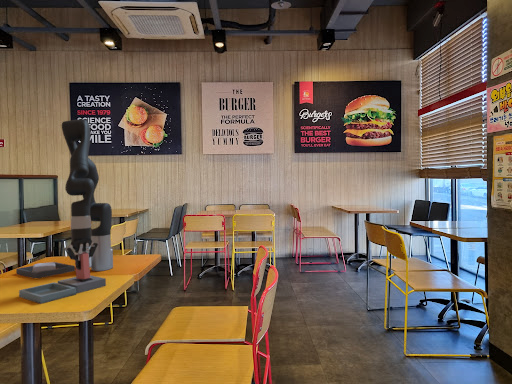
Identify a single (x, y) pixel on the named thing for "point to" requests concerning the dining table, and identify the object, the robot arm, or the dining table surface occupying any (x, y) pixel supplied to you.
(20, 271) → the frame
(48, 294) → the tray
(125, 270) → the dining table surface
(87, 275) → the pink block
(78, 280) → the grey square-hole plate
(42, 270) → the charger
